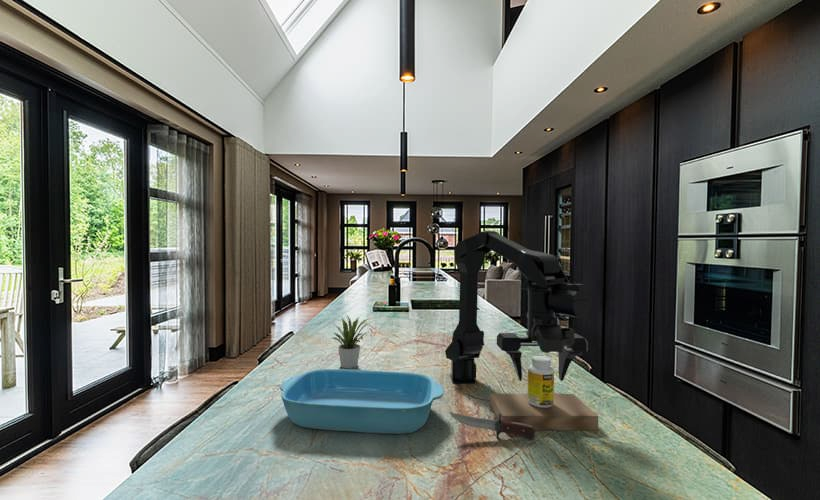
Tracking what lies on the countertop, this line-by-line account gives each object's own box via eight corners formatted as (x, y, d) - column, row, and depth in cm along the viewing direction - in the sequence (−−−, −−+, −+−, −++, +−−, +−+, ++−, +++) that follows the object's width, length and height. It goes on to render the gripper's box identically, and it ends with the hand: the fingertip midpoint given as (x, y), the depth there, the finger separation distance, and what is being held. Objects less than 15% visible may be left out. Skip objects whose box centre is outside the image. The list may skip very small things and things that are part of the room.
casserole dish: (443, 399, 96) (443, 370, 96) (443, 444, 73) (444, 408, 73) (300, 393, 99) (300, 366, 99) (260, 435, 76) (260, 400, 76)
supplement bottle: (542, 411, 81) (543, 363, 81) (522, 402, 86) (522, 357, 86) (558, 405, 84) (559, 359, 84) (538, 396, 89) (538, 353, 89)
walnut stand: (502, 429, 79) (502, 415, 79) (489, 405, 91) (490, 393, 91) (598, 430, 79) (598, 416, 79) (573, 406, 91) (573, 393, 91)
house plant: (384, 364, 123) (384, 313, 123) (356, 376, 111) (356, 320, 111) (350, 357, 131) (351, 309, 130) (321, 367, 119) (321, 315, 119)
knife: (448, 437, 76) (448, 412, 76) (448, 434, 77) (448, 409, 77) (535, 440, 75) (535, 415, 75) (533, 436, 76) (533, 412, 76)
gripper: (509, 317, 77) (508, 394, 77) (601, 317, 77) (600, 394, 77) (496, 308, 88) (495, 375, 88) (576, 308, 88) (576, 375, 88)
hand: (540, 380), depth 85 cm, fingers open, 9 cm apart
